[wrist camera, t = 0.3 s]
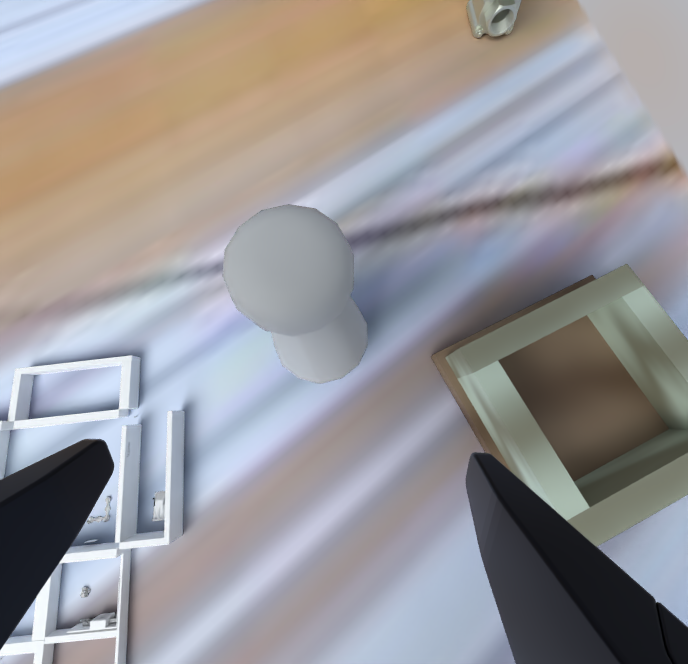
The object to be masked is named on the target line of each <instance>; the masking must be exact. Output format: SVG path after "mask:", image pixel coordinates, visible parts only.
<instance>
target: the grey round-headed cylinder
mask: <svg viewBox="0 0 688 664" xmlns="http://www.w3.org/2000/svg"><path fill="white" fill-rule="evenodd" d="M223 278H224V281H225V283H226V286H227V288H228V291H229V293H230V295H231V298H232V300H233V302H234V304H235V306H236V308H237V310H238V311H240V312H241V313H242V314H243V315H245V316H246V317H247V318H249V319H250V320H251V321H252V322H254V323H255V324H256V325H258V326H259V327H260V328H262V329H264V330H265V331H269V332H271V335H272V339H273V343H274V347H275V349H276V352H277V354H278V356H279V359H280V361H281V364H282V366H283V367H285V368H286V369H287V370H289V371H290V372H291V373H292V374H294V375H295V376H296V377H298V378H299V379H302V380H306V381H310V382H315V383H319V384H321V383H325V382H329V381H333V380H337V379H341V378H343V377H344V376H345V375H346V374H348V373H349V372H350V371H351V370H353V369H354V368H355V367H356V366H358V365H359V363H360V361H361V358H362V356H363V354H364V352H365V350H366V348H367V345H368V340H367V323H366V321H365V319H364V318H363V316H362V314H361V312H360V310H359V308H358V306H357V305H356V304H355V302H354V301H353V299H352V298H351V296H350V295H351V293H352V291H353V287H354V255H353V252H352V250H351V247H350V245H349V244H348V242H347V240H346V238H345V237H344V235H343V233H342V231H341V230H340V228H339V226H338V224H337V223H336V222H334V221H333V220H331V219H330V218H328V217H327V216H325V215H324V214H323V213H321V212H320V211H318V210H317V209H315V208H309V207H302V206H296V205H289V204H288V205H283V206H279V207H274V208H270V209H266V210H261V211H260V212H259V213H257V214H256V215H254V216H253V217H252V218H250V219H249V220H248V221H246V222H245V223H243V224H242V225H241V226H239V228H238V229H237V231H236V232H235V234H234V236H233V237H232V239H231V240H230V242H229V244H228V245H227V247H226V249H225V252H224V265H223Z"/></svg>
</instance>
